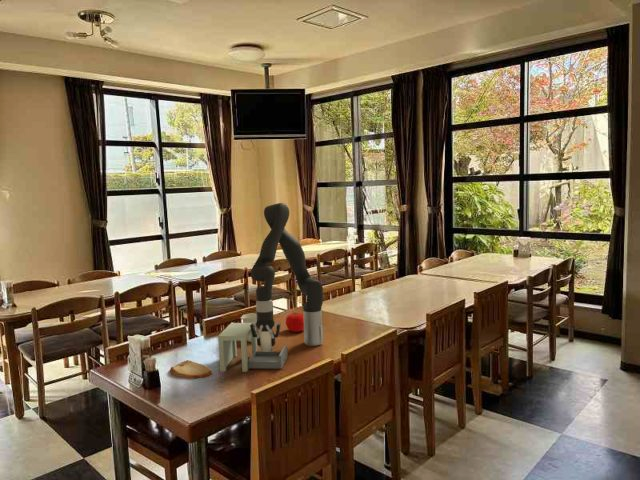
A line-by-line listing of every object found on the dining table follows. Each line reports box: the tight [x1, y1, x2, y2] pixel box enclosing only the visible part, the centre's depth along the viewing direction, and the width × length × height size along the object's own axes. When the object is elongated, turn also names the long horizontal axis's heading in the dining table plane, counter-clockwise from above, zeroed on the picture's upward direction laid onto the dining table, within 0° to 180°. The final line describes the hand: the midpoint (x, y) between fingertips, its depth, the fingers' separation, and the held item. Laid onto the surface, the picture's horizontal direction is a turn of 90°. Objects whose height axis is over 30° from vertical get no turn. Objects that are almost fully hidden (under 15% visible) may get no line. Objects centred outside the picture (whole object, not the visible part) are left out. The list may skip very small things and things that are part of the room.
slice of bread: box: [169, 360, 213, 380], centre depth 212 cm, size 18×18×4 cm
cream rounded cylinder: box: [259, 330, 274, 352], centre depth 218 cm, size 5×5×9 cm
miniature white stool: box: [217, 322, 258, 373], centre depth 220 cm, size 12×20×16 cm, turn 174°
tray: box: [248, 344, 288, 370], centre depth 219 cm, size 16×15×6 cm
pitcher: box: [240, 312, 259, 343], centre depth 254 cm, size 11×18×14 cm, turn 144°
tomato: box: [285, 312, 304, 333], centre depth 267 cm, size 12×12×10 cm
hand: (266, 345), depth 219 cm, fingers closed on cream rounded cylinder, 5 cm apart
